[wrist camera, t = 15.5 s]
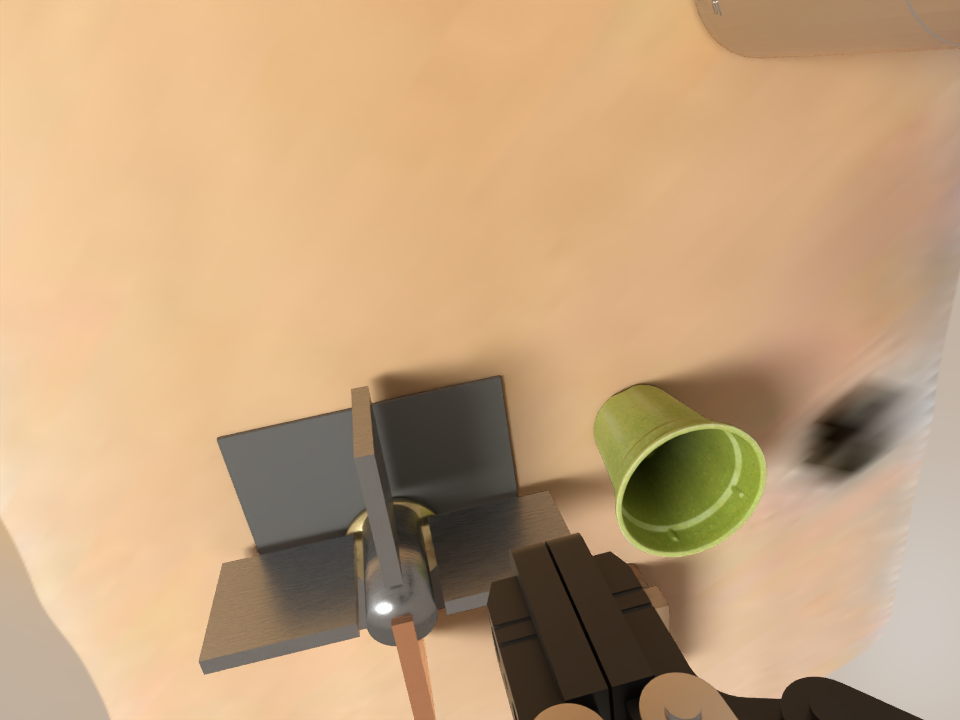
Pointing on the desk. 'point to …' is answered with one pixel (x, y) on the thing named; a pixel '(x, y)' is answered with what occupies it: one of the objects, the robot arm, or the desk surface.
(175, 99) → the desk surface
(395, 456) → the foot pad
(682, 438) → the plant pot
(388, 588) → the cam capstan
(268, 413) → the desk surface
